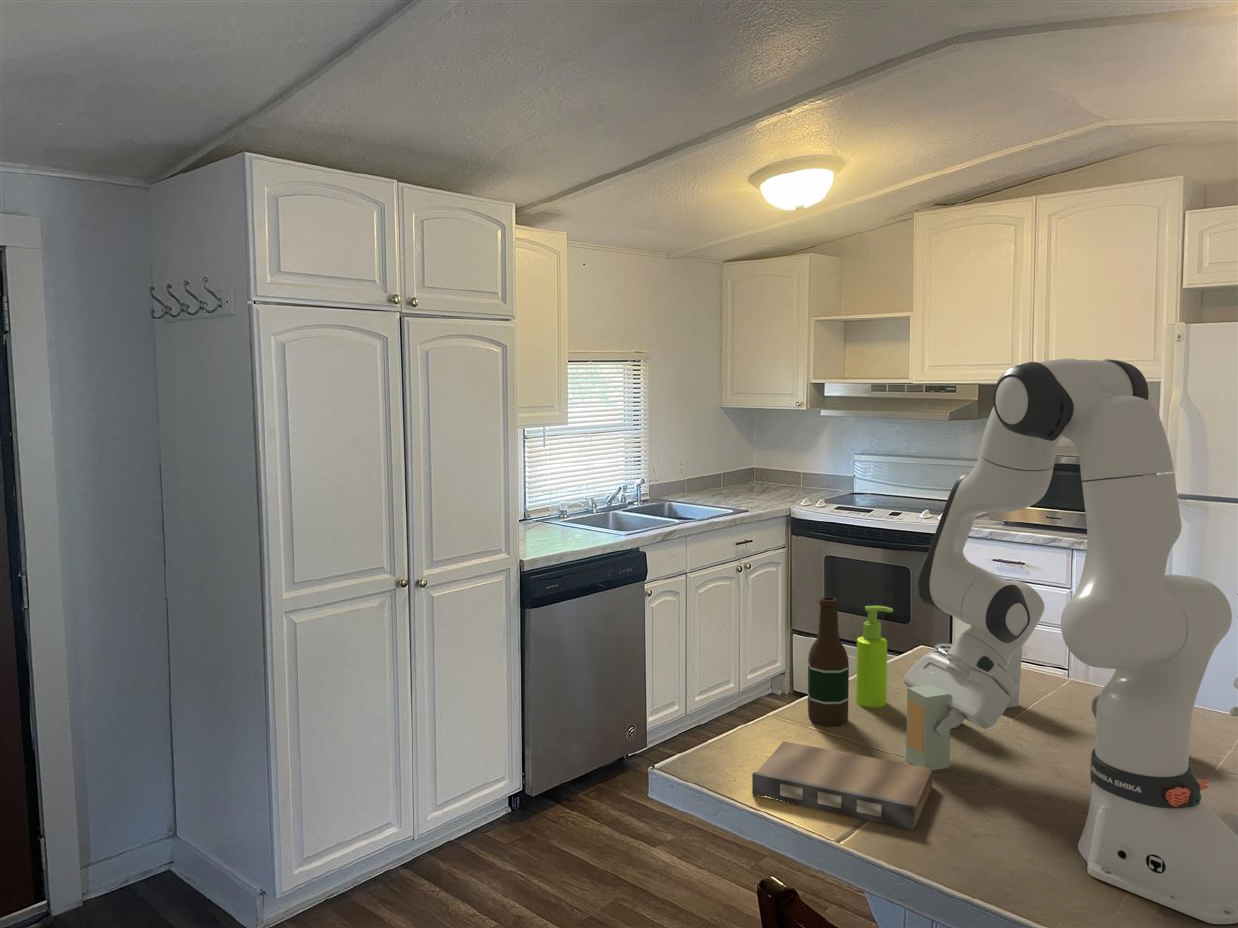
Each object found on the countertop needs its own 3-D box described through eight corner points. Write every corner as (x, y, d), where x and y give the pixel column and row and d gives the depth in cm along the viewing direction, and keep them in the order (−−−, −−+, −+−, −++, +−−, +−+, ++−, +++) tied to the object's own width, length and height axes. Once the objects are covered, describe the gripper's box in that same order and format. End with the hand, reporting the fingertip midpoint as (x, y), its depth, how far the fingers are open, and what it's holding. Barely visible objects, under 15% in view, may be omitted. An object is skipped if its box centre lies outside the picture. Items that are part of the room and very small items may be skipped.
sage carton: (949, 767, 155) (950, 693, 153) (923, 772, 153) (925, 697, 152) (930, 756, 159) (931, 684, 158) (905, 760, 158) (906, 687, 156)
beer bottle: (856, 723, 174) (858, 600, 172) (822, 729, 172) (823, 605, 169) (832, 709, 182) (833, 591, 179) (799, 715, 179) (800, 596, 176)
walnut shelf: (932, 786, 148) (932, 765, 147) (913, 830, 134) (913, 807, 133) (783, 757, 160) (783, 737, 159) (751, 795, 145) (751, 774, 145)
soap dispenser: (892, 709, 181) (894, 610, 179) (857, 706, 183) (858, 609, 181) (890, 698, 187) (891, 603, 185) (855, 696, 189) (856, 602, 187)
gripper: (924, 635, 166) (878, 694, 164) (1005, 669, 147) (954, 736, 145) (944, 656, 168) (898, 715, 166) (1027, 693, 149) (976, 759, 147)
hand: (925, 725), depth 155 cm, fingers closed on sage carton, 5 cm apart
